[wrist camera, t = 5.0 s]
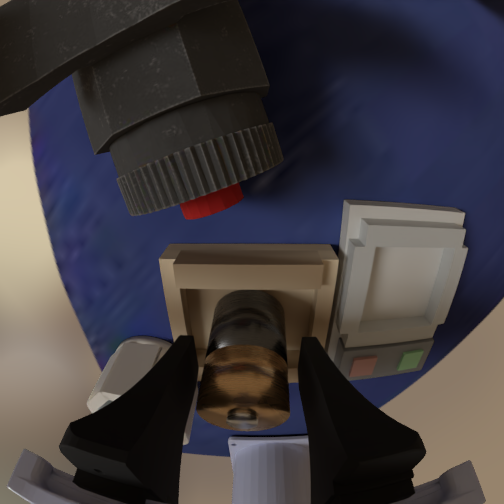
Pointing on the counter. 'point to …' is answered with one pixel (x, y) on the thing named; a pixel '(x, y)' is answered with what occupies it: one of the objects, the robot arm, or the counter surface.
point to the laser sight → (150, 92)
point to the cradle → (392, 285)
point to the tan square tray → (250, 288)
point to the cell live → (246, 364)
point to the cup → (132, 373)
